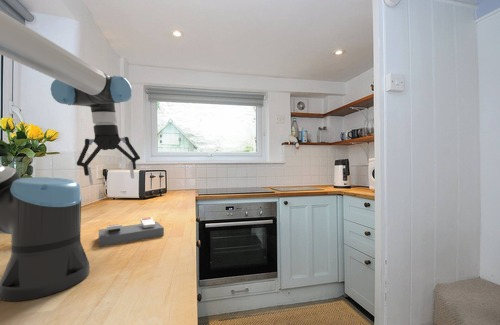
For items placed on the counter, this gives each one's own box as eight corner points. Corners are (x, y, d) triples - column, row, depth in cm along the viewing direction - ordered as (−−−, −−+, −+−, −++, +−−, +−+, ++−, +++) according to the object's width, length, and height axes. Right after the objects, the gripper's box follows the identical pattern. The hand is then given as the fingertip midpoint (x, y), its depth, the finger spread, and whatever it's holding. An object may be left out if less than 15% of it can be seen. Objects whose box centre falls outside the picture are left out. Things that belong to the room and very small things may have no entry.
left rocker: (121, 227, 78) (121, 224, 78) (108, 229, 76) (108, 226, 76) (119, 227, 84) (119, 223, 84) (107, 228, 82) (107, 225, 82)
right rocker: (155, 226, 85) (155, 223, 84) (143, 228, 82) (143, 225, 82) (151, 219, 90) (151, 216, 90) (140, 220, 88) (140, 218, 88)
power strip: (163, 235, 84) (163, 225, 84) (99, 247, 73) (99, 235, 73) (156, 228, 93) (156, 219, 93) (98, 238, 82) (98, 227, 82)
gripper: (139, 124, 94) (145, 174, 97) (62, 125, 78) (71, 185, 81) (144, 123, 88) (150, 176, 91) (61, 124, 73) (71, 188, 76)
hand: (113, 180), depth 86 cm, fingers open, 13 cm apart
